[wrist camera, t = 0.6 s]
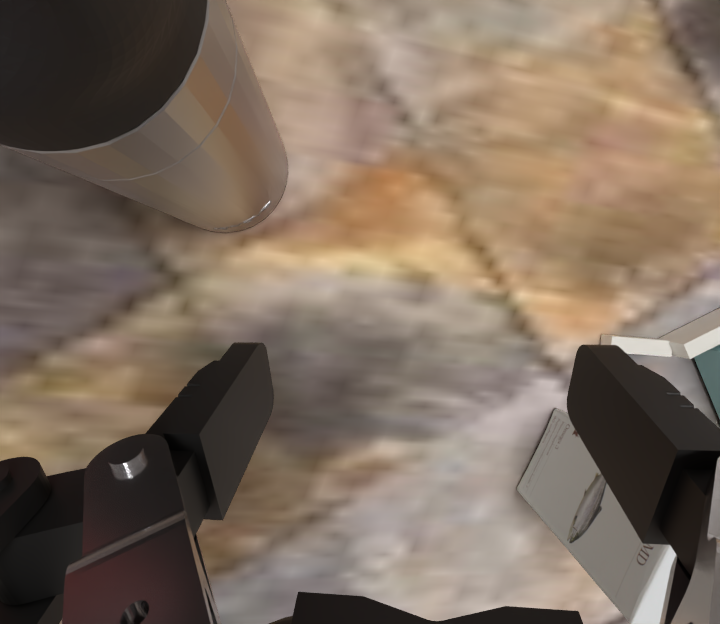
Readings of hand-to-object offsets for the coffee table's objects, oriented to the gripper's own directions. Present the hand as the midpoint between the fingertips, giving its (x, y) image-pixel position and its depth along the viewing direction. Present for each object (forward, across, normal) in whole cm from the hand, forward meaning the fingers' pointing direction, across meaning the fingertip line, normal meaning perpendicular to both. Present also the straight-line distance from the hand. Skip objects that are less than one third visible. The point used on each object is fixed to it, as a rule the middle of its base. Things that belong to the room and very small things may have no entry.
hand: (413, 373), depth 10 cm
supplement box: (+16, -13, +19) cm, 28 cm away
